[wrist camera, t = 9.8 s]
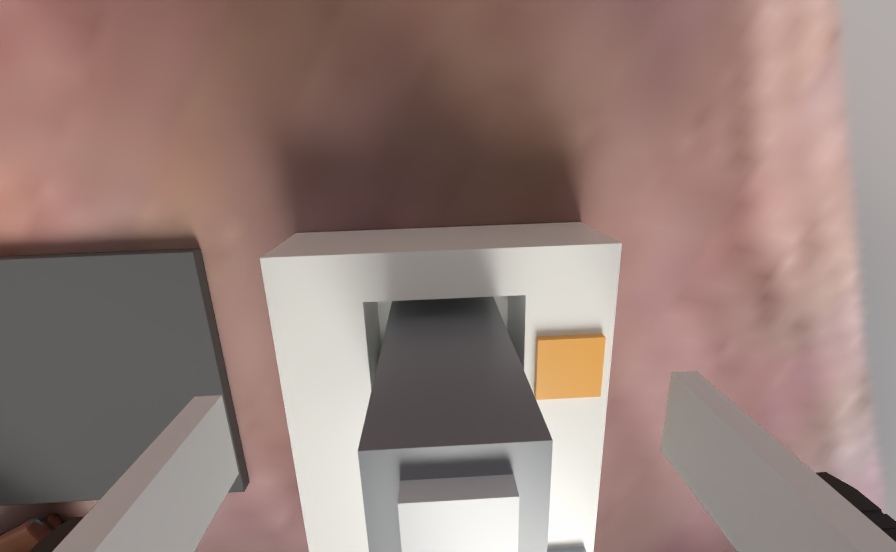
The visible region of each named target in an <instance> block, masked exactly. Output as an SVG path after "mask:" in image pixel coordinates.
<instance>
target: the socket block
mask: <svg viewBox="0 0 896 552" xmlns="http://www.w3.org/2000/svg"><path fill="white" fill-rule="evenodd" d="M621 246H622V243H620V242H619V241H617V240H615V239H613V238H611V237H609V236H607V235H605V234H603V233H602V232H600V231H598V230H596V229H594V228H592V227H590V226H588V225H586V224H585V223H583V222H566V223H540V224H515V225H489V226H463V227H438V228H412V229H386V230H361V231H335V232H309V233H295V234H294V235H292V236H291V237H289V238H288V239H286V240H285V241H283V242H282V243H281V244H279V245H278V246H276V247H275V248H273V249H272V250H270V251H269V252H268V253H266V254H265V255H263V256H262V257H260V263H261V269H262V275H263V281H264V287H265V293H266V299H267V305H268V311H269V316H270V322H271V328H272V334H273V340H274V346H275V352H276V358H277V364H278V370H279V376H280V382H281V388H282V394H283V400H284V406H285V412H286V418H287V424H288V429H289V435H290V441H291V447H292V453H293V459H294V465H295V471H296V477H297V483H298V489H299V495H300V501H301V507H302V513H303V519H304V525H305V531H306V536H307V542H308V548H309V552H369V547H368V539H367V530H366V521H365V512H364V503H363V494H362V486H361V477H360V468H359V459H358V447H359V443H360V438H361V434H362V430H363V425H364V421H365V417H366V412H367V408H368V404H369V399H370V395H371V391H372V386H373V382H374V377H375V373H376V369H377V364H378V360H379V356H380V351H381V347H382V343H383V338H384V334H385V330H386V325H387V321H388V317H389V312H390V308H391V303H392V301H403V300H426V299H448V298H471V297H494V300H495V302H496V304H497V307H498V309H499V312H500V314H501V317H502V319H503V321H504V324H505V326H506V329H507V331H508V333H509V336H510V338H511V341H512V343H513V345H514V348H515V350H516V353H517V355H518V358H519V360H520V362H521V365H522V367H523V370H524V372H525V374H526V377H527V379H528V382H529V384H530V386H531V389H532V391H533V394H534V396H535V399H536V401H537V403H538V406H539V408H540V411H541V413H542V415H543V418H544V420H545V423H546V425H547V428H548V430H549V432H550V435H551V437H552V440H553V447H552V467H551V487H550V507H549V527H548V547H547V552H593V550H594V539H595V528H596V518H597V507H598V496H599V485H600V474H601V463H602V452H603V442H604V431H605V420H606V409H607V398H608V387H609V377H610V366H611V355H612V344H613V333H614V322H615V312H616V301H617V290H618V279H619V268H620V257H621Z"/></svg>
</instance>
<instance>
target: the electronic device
mask: <svg viewBox="0 0 896 552" xmlns="http://www.w3.org/2000/svg"><path fill="white" fill-rule="evenodd" d="M60 525H62V518H61V517H60V516H59V515H57V514H51V515H49V516H47V517H46V518H44V519H43V520H40V521H39V520H38V519H36V518H32V519H28V520H27V521H25V522H24V524H22V525H20V526H18V527H16V528H14V529H12V530H10V531H8V532H5V533H3V534H1V535H0V552H29V551H30V550H31V549H32V548H33V547H34V546H35V545H36V544H37V543H38V542H39V541H40V540H41V539H42V538H44V537H45V536H46V535H48V534H49V533H51V532H52V531H53V530H55V529H56V528H58V527H59V526H60Z"/></svg>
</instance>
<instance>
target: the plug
mask: <svg viewBox="0 0 896 552" xmlns="http://www.w3.org/2000/svg"><path fill="white" fill-rule="evenodd" d="M552 447H553V440H552V437H551V435H550V432H549V430H548V428H547V425H546V423H545V420H544V418H543V415H542V413H541V411H540V408H539V406H538V403H537V401H536V399H535V396H534V394H533V391H532V389H531V386H530V384H529V382H528V379H527V377H526V374H525V372H524V370H523V367H522V365H521V362H520V360H519V358H518V355H517V353H516V350H515V348H514V345H513V343H512V341H511V338H510V336H509V333H508V331H507V329H506V326H505V324H504V321H503V319H502V317H501V314H500V312H499V309H498V307H497V304H496V302H495V300H494V297H471V298H448V299H426V300H403V301H392V303H391V308H390V312H389V317H388V321H387V325H386V330H385V334H384V338H383V343H382V347H381V351H380V356H379V360H378V364H377V369H376V373H375V377H374V382H373V386H372V391H371V395H370V399H369V404H368V408H367V412H366V417H365V421H364V425H363V430H362V434H361V438H360V443H359V447H358V459H359V468H360V477H361V486H362V494H363V503H364V512H365V521H366V530H367V539H368V547H369V552H547V547H548V527H549V507H550V487H551V467H552Z"/></svg>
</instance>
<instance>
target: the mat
mask: <svg viewBox="0 0 896 552" xmlns="http://www.w3.org/2000/svg"><path fill="white" fill-rule="evenodd" d="M214 395H222V398H223V403H224V408H225V412H226V417H227V422H228V426H229V431H230V435H231V440H232V445H233V449H234V454H235V458H236V463H237V468H238V472H239V474H238V476H237V478H236V479H235V481H234V483H233V485H232V486H231V488H230V490H229V492H244V491H245V489H246V487H247V486H248V484H249V479H248V474H247V469H246V464H245V460H244V455H243V450H242V445H241V441H240V436H239V431H238V426H237V421H236V417H235V412H234V407H233V402H232V398H231V393H230V388H229V383H228V379H227V374H226V369H225V364H224V359H223V355H222V350H221V345H220V340H219V336H218V331H217V326H216V321H215V317H214V312H213V307H212V302H211V297H210V293H209V288H208V283H207V278H206V274H205V269H204V264H203V259H202V255H201V250H200V249H178V250H153V251H128V252H103V253H78V254H53V255H28V256H3V257H0V506H1V505H19V504H36V503H53V502H71V501H88V500H100V499H101V498H102V497H103V496H104V495H105V494H106V493H107V492H108V490H109V489H110V488H111V487H112V486H113V485H114V484H115V483H116V482H117V481H118V480H119V478H120V477H121V476H122V475H123V474H124V473H125V472H126V471H127V470H128V469H129V468H130V466H131V465H132V464H133V463H134V462H135V461H136V460H137V459H138V458H139V457H140V456H141V454H142V453H143V452H144V451H145V450H146V449H147V448H148V447H149V446H150V445H151V444H152V442H153V441H154V440H155V439H156V438H157V437H158V436H159V435H160V434H161V433H162V432H163V430H164V429H165V428H166V427H167V426H168V425H169V424H170V423H171V422H172V421H173V420H174V418H175V417H176V416H177V415H178V414H179V413H180V412H181V411H182V410H183V409H184V408H185V406H186V405H187V404H188V403H189V402H190V401H191V400H192V399H193V398H194V397H195V396H214Z"/></svg>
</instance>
